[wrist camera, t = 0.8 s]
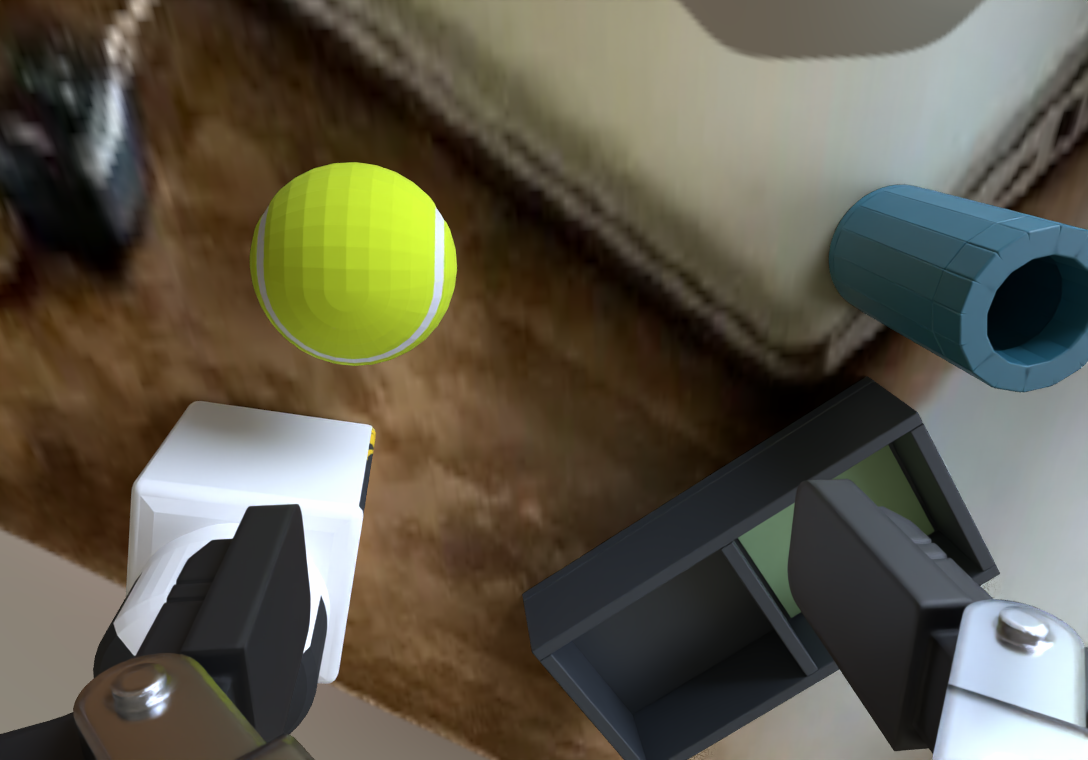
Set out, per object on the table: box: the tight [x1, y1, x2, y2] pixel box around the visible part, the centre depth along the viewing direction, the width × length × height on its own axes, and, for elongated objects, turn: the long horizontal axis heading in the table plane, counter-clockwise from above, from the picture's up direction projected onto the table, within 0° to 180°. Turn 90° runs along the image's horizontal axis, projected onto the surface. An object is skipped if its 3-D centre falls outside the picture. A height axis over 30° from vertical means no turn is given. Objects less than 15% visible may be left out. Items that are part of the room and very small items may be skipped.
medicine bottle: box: [93, 401, 376, 734], centre depth 28 cm, size 7×7×12 cm
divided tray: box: [522, 376, 1000, 760], centre depth 36 cm, size 9×18×4 cm, turn 123°
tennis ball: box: [250, 162, 457, 366], centre depth 28 cm, size 7×7×7 cm
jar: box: [829, 185, 1088, 392], centre depth 29 cm, size 5×5×9 cm
